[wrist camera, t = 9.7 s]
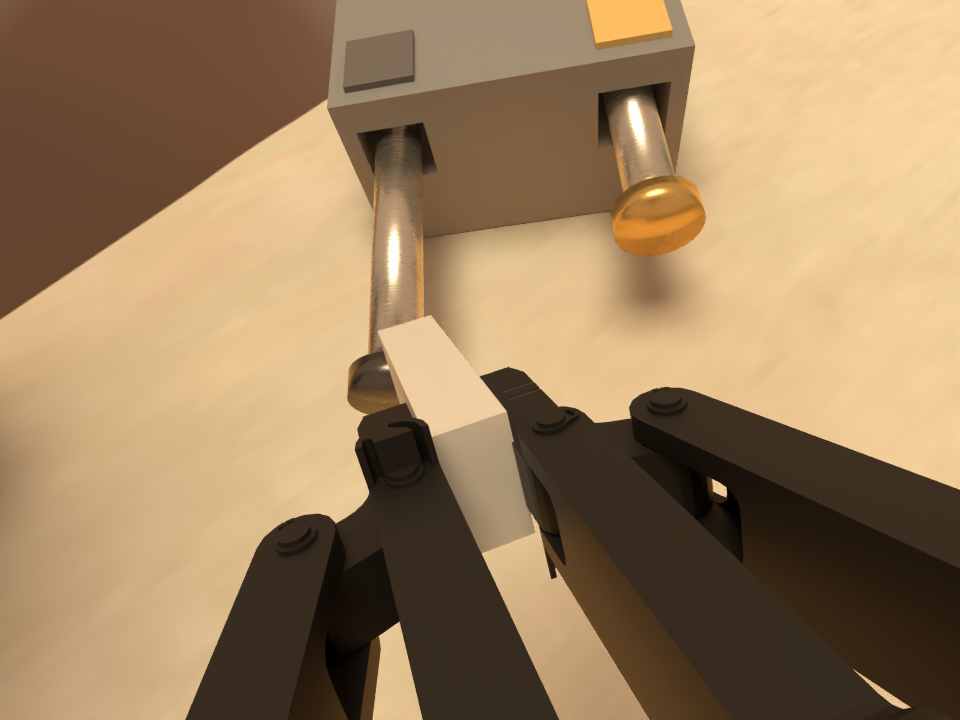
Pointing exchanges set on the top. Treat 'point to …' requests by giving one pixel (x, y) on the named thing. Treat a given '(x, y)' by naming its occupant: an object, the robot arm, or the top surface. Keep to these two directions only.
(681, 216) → the plunger ochre
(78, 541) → the top surface
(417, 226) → the plunger grey
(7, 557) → the top surface
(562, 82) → the console
